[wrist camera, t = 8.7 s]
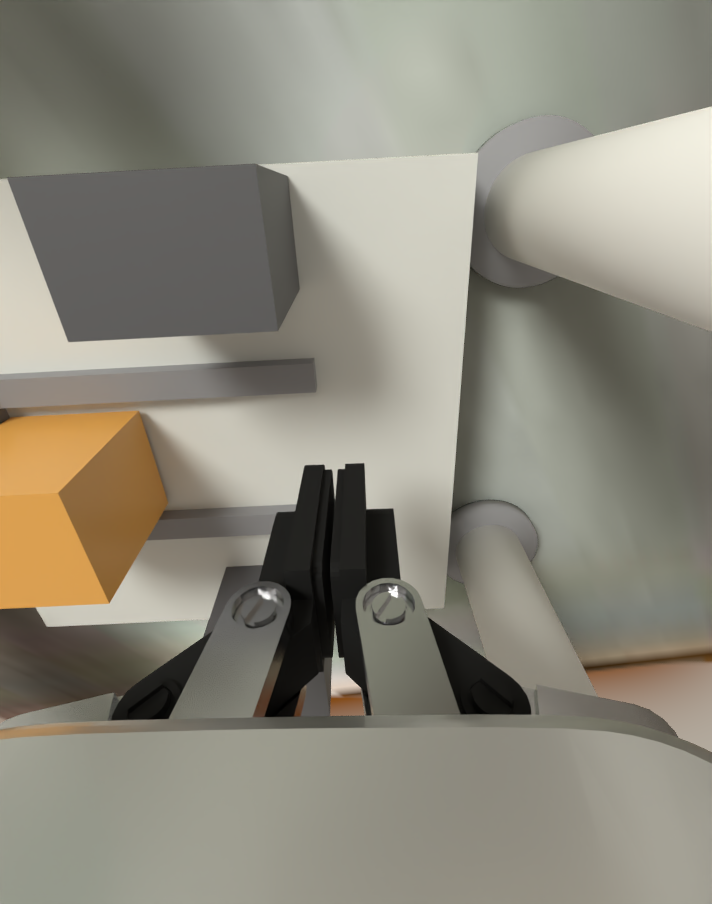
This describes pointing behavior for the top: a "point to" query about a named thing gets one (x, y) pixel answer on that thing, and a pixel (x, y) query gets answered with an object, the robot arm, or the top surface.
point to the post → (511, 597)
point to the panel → (248, 351)
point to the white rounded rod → (601, 210)
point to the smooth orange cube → (73, 506)
